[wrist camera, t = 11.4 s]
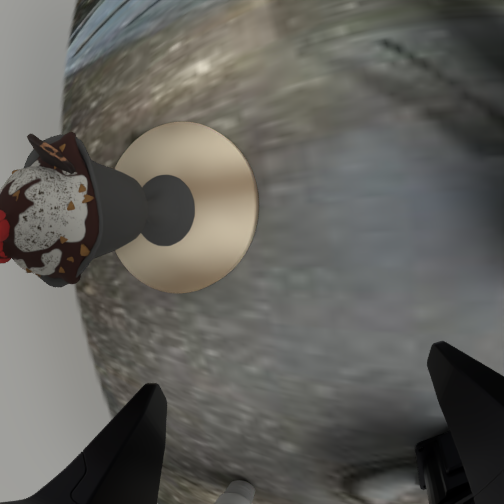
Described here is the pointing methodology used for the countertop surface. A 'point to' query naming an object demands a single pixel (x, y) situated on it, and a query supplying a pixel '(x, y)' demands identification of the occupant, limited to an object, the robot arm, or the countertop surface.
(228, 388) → the countertop surface
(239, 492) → the lightbulb
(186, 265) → the coaster
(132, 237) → the sundae
